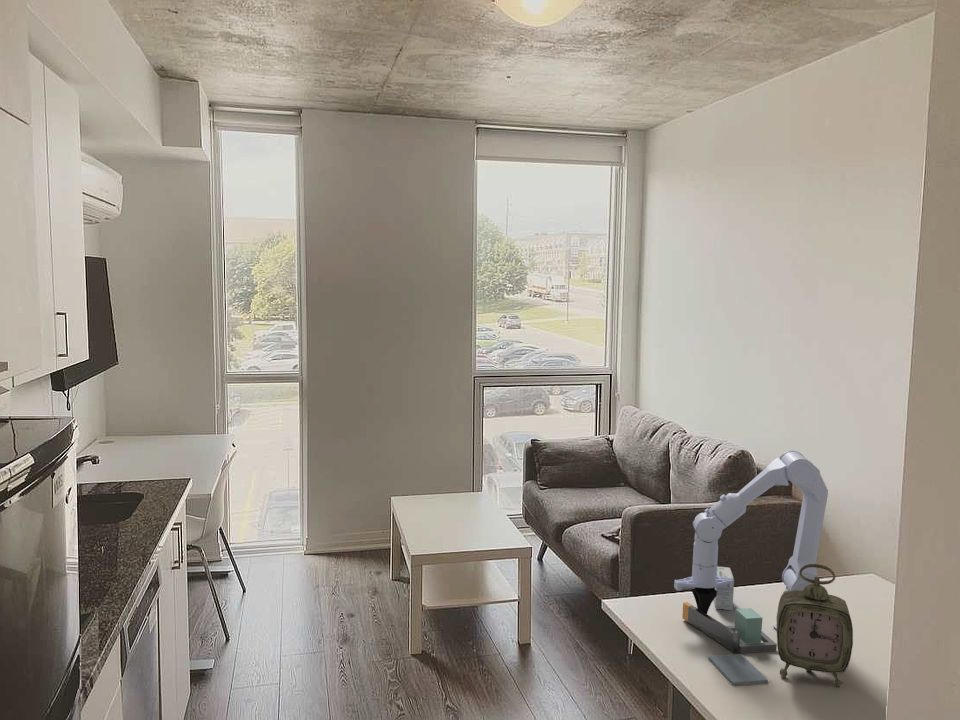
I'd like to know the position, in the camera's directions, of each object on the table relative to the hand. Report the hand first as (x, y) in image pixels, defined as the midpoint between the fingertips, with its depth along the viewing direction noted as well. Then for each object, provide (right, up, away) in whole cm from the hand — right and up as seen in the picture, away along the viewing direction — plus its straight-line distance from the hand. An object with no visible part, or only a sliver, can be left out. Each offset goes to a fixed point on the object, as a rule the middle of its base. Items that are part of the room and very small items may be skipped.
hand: (702, 616), depth 185 cm
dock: (+8, -3, -7) cm, 12 cm away
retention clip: (0, -3, -5) cm, 6 cm away
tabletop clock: (+17, -6, -22) cm, 28 cm away
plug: (+8, -4, -7) cm, 12 cm away
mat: (+2, -5, -21) cm, 21 cm away
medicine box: (+9, -1, +13) cm, 16 cm away
